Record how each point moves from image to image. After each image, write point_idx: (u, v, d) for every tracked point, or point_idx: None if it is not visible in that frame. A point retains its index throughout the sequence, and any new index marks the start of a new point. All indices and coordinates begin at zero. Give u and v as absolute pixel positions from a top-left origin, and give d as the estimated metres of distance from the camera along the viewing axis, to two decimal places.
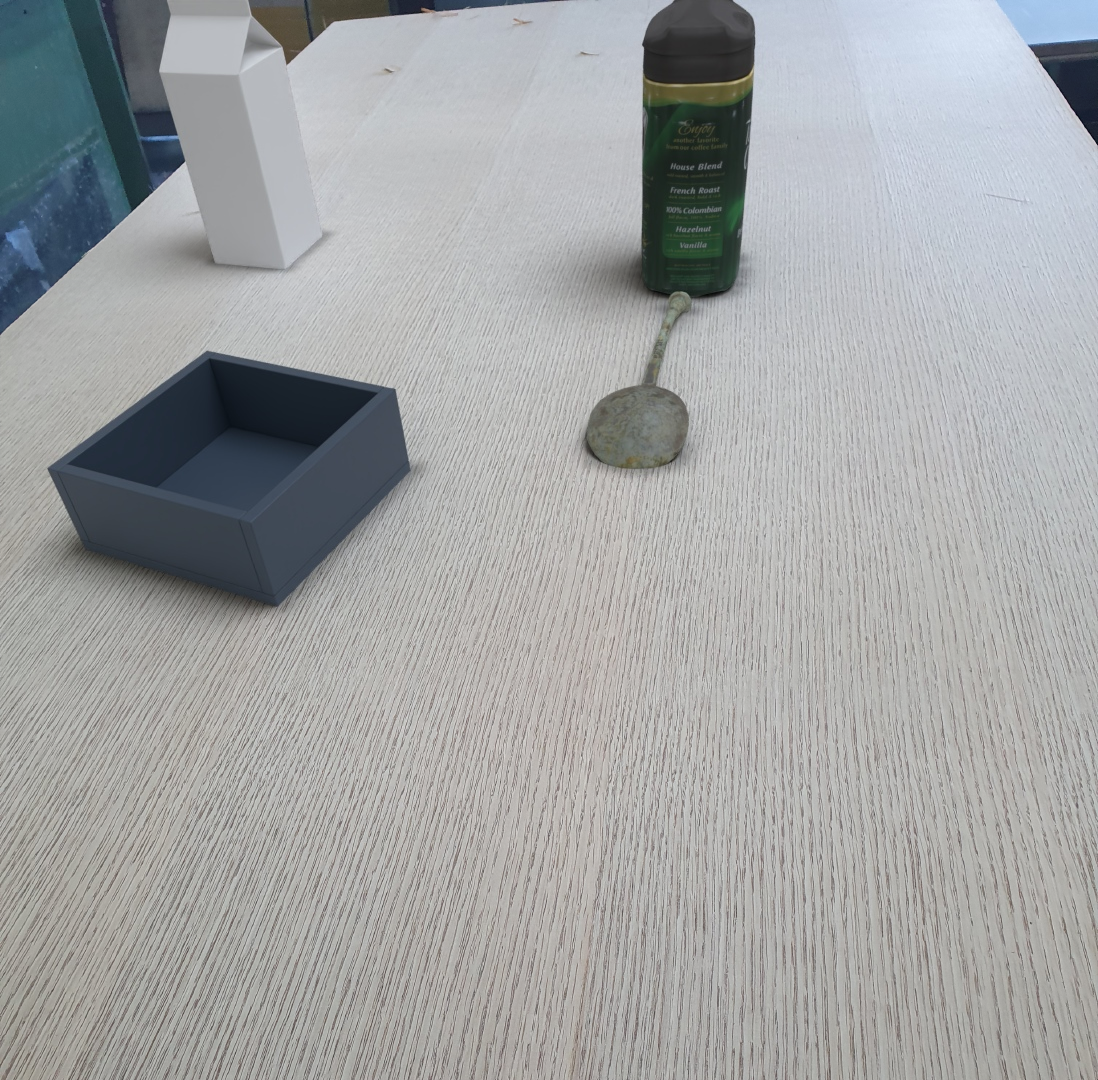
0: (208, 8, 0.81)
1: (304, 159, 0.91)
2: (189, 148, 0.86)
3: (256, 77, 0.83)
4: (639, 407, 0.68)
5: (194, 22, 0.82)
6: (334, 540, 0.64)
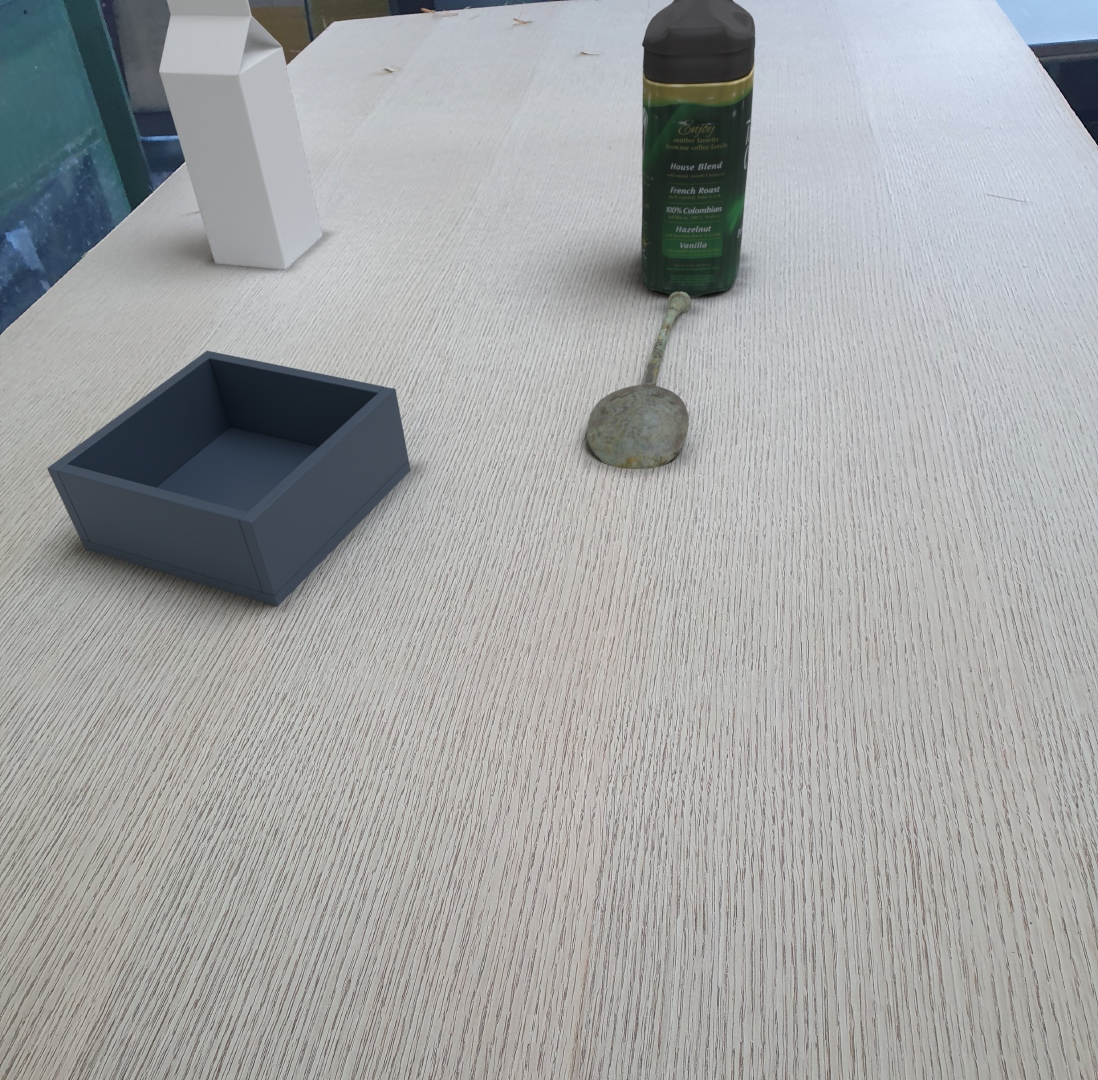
0: (208, 8, 0.81)
1: (304, 159, 0.91)
2: (189, 148, 0.86)
3: (256, 77, 0.83)
4: (639, 407, 0.68)
5: (194, 22, 0.82)
6: (334, 540, 0.64)
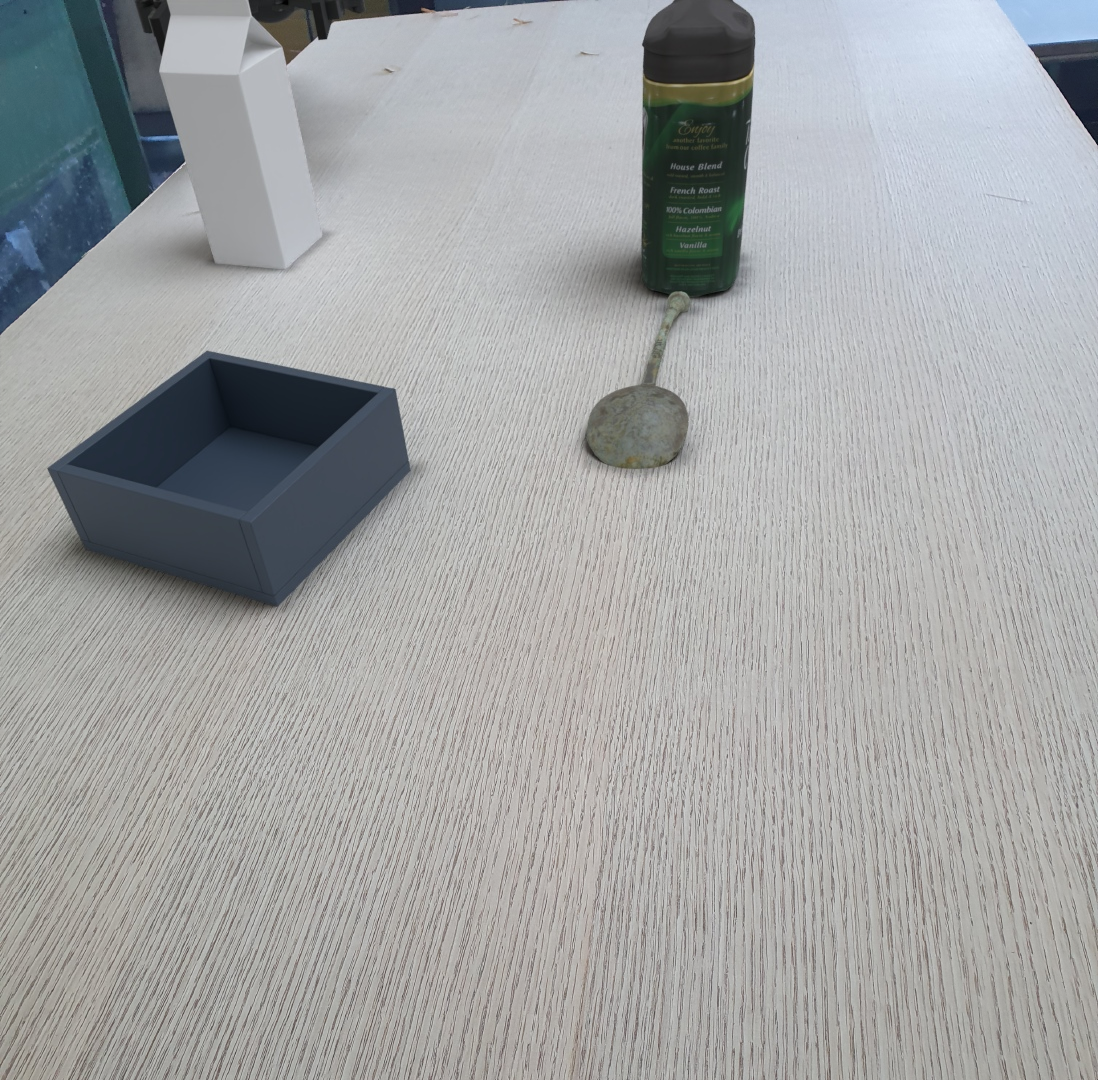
0: (208, 8, 0.81)
1: (304, 159, 0.91)
2: (189, 148, 0.86)
3: (256, 77, 0.83)
4: (639, 407, 0.68)
5: (194, 22, 0.82)
6: (334, 540, 0.64)
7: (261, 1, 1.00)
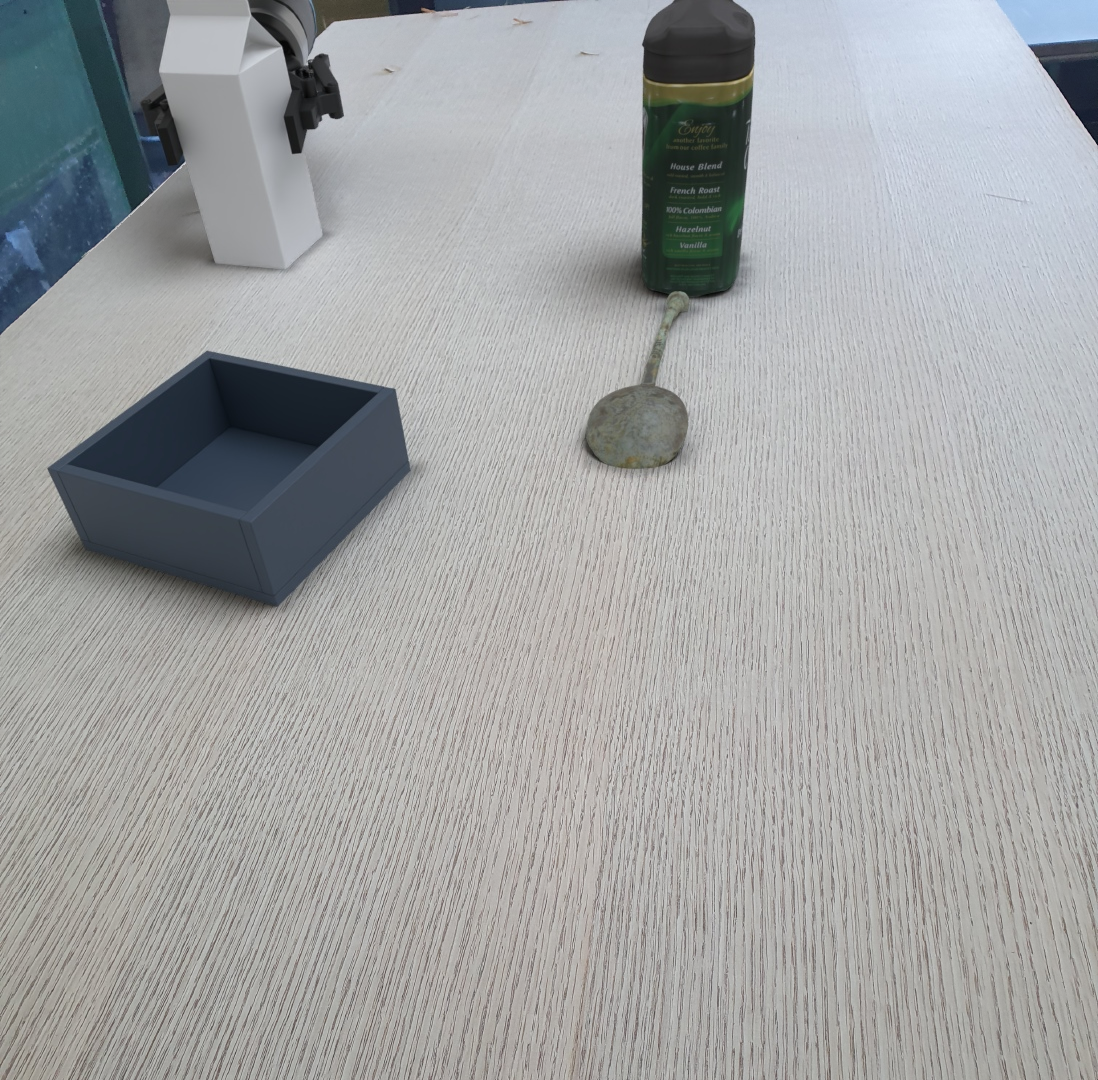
0: (208, 8, 0.81)
1: (304, 159, 0.91)
2: (189, 148, 0.86)
3: (256, 77, 0.83)
4: (639, 407, 0.68)
5: (194, 22, 0.82)
6: (334, 540, 0.64)
7: None
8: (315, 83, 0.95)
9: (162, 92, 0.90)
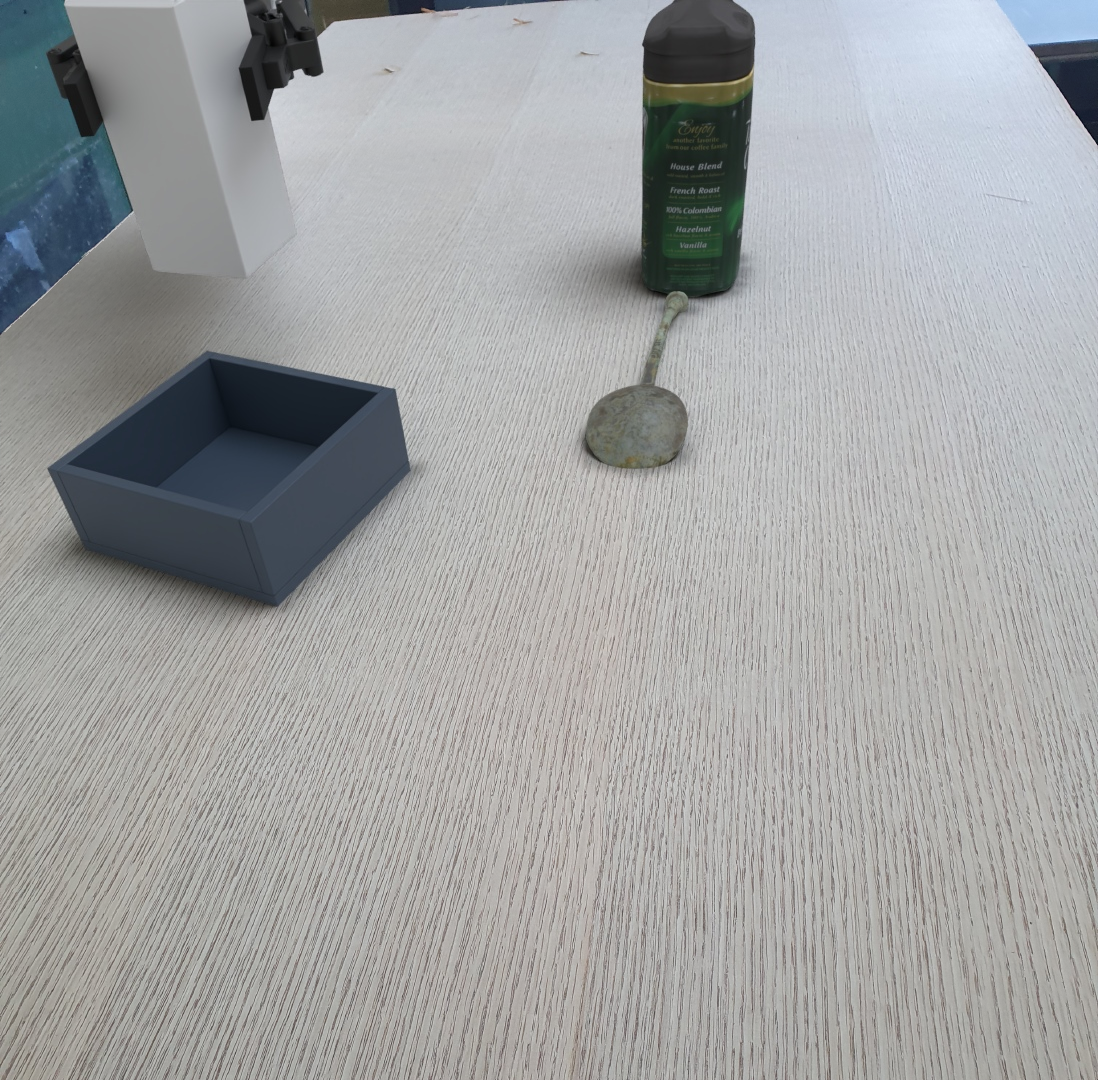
0: None
1: (270, 131, 0.68)
2: (111, 114, 0.63)
3: (200, 13, 0.60)
4: (638, 407, 0.68)
5: None
6: (334, 540, 0.64)
7: None
8: (286, 32, 0.72)
9: None
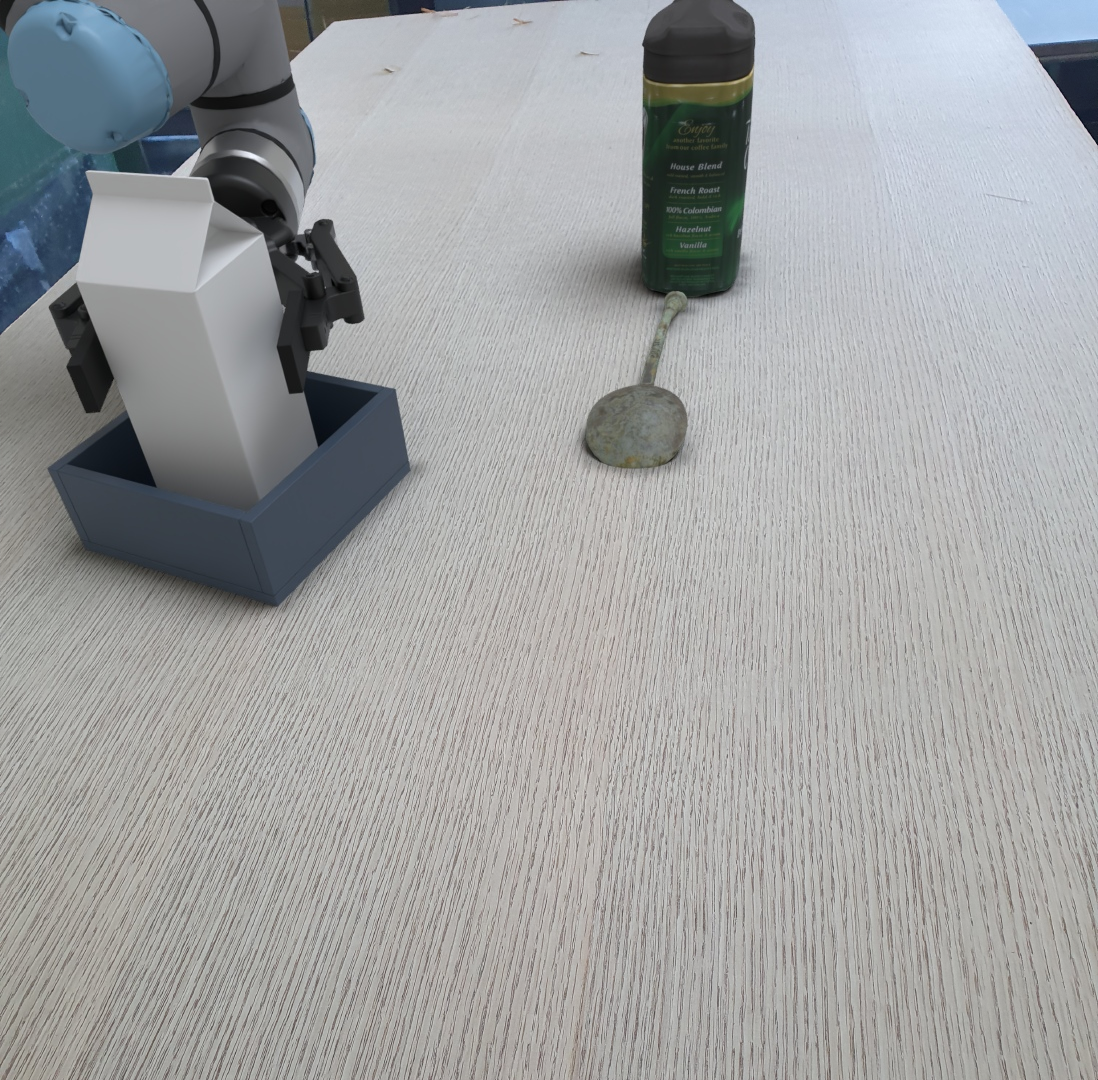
0: (148, 188, 0.53)
1: None
2: (125, 381, 0.58)
3: (223, 288, 0.55)
4: (638, 407, 0.68)
5: (128, 207, 0.54)
6: (334, 540, 0.64)
7: None
8: (315, 260, 0.67)
9: None
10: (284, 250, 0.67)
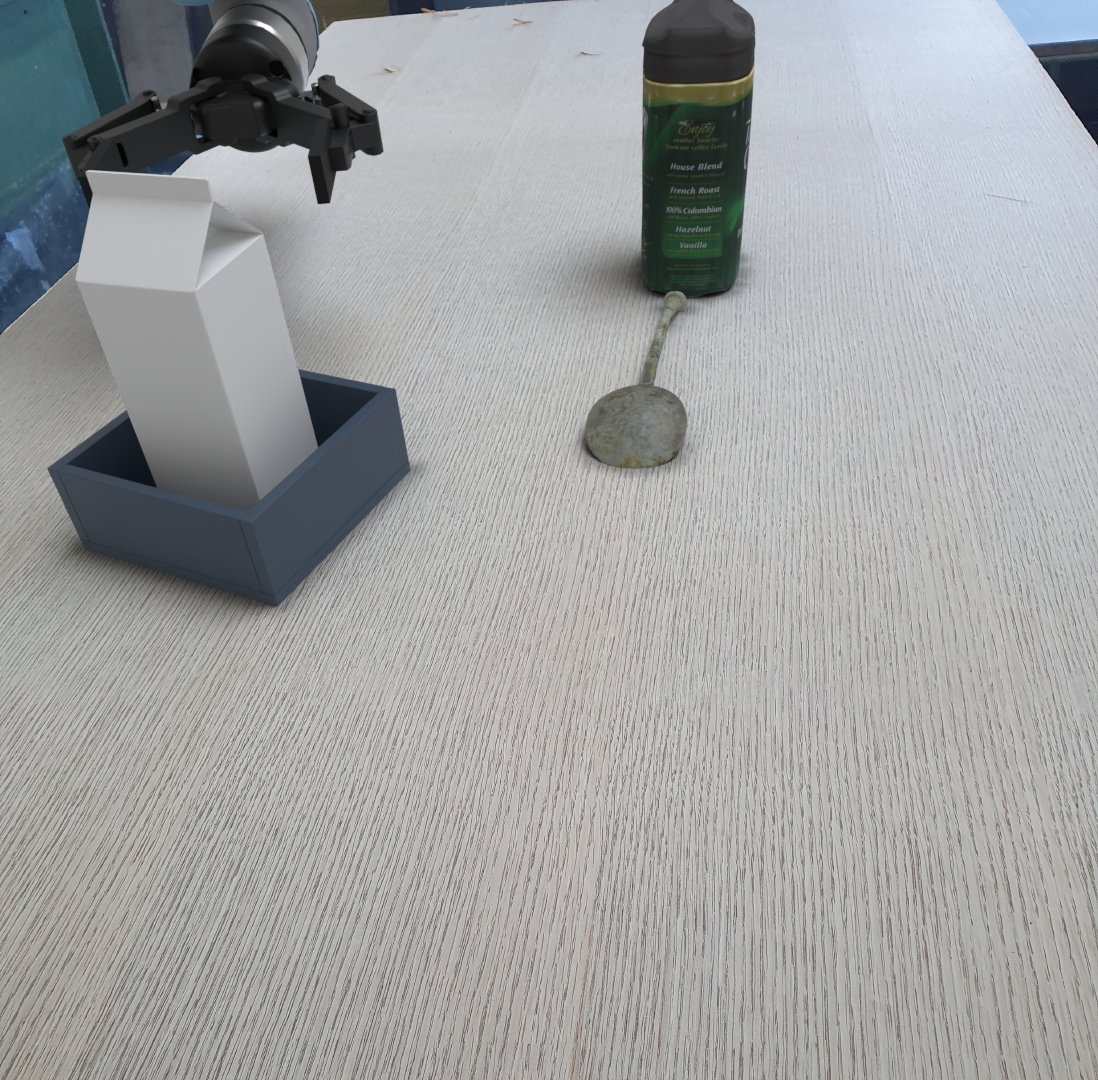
0: (148, 188, 0.53)
1: (296, 380, 0.63)
2: (125, 381, 0.58)
3: (223, 288, 0.55)
4: (638, 407, 0.68)
5: (128, 207, 0.54)
6: (334, 540, 0.64)
7: (240, 133, 0.73)
8: None
9: (98, 126, 0.70)
10: None
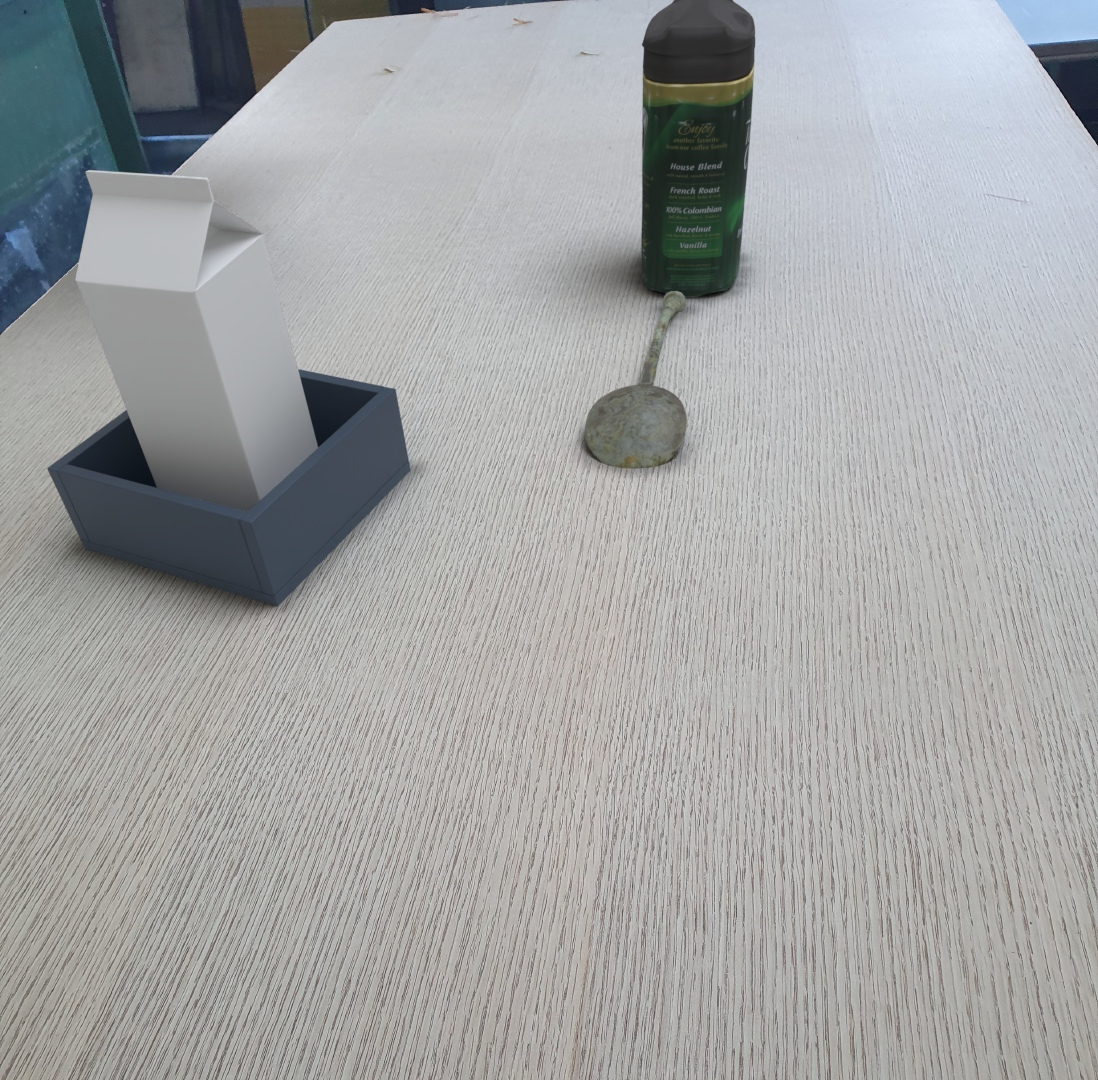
0: (148, 188, 0.53)
1: (296, 380, 0.63)
2: (125, 381, 0.58)
3: (223, 288, 0.55)
4: (638, 406, 0.68)
5: (128, 207, 0.54)
6: (334, 540, 0.64)
7: None
8: None
9: None
10: None
